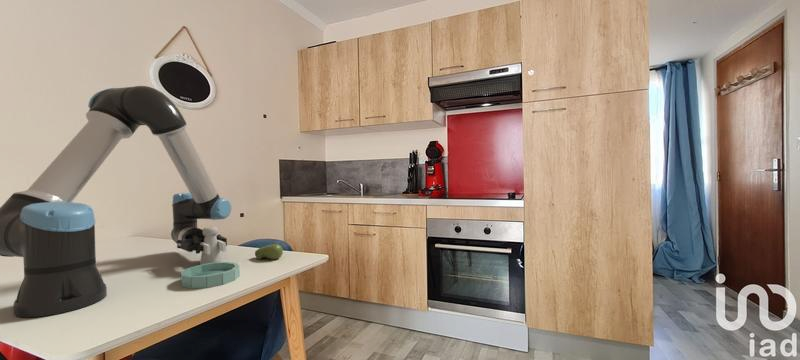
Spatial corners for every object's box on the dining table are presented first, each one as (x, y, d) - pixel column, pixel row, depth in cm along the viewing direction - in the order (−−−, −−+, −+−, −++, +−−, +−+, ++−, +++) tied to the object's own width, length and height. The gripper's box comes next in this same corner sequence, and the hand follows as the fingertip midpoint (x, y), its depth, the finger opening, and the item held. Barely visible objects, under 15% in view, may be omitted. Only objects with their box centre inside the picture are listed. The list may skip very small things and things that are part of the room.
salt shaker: (205, 271, 100) (204, 229, 100) (197, 268, 104) (196, 227, 103) (225, 267, 105) (224, 226, 104) (216, 264, 108) (215, 225, 108)
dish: (170, 289, 85) (170, 278, 85) (196, 273, 99) (196, 263, 99) (227, 286, 87) (227, 275, 87) (245, 270, 101) (245, 261, 101)
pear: (274, 245, 111) (250, 248, 113) (277, 260, 111) (252, 263, 113) (284, 241, 116) (261, 244, 119) (287, 256, 116) (263, 259, 119)
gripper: (219, 244, 123) (245, 255, 107) (165, 253, 110) (185, 266, 94) (219, 224, 122) (244, 232, 106) (164, 231, 110) (184, 240, 94)
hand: (216, 248), depth 100 cm, fingers open, 4 cm apart
